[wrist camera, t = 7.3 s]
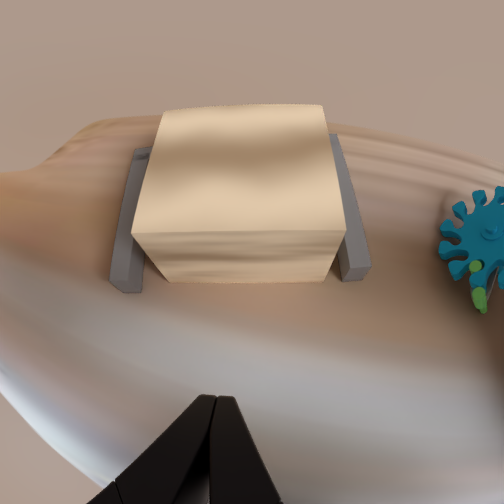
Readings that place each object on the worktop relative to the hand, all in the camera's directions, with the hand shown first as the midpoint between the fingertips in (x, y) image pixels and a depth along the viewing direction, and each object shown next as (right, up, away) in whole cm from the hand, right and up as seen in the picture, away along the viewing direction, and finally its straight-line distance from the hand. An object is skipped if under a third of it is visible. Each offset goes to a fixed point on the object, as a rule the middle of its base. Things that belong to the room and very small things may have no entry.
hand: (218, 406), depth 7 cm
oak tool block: (0, +6, +17) cm, 18 cm away
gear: (+19, +3, +15) cm, 25 cm away
